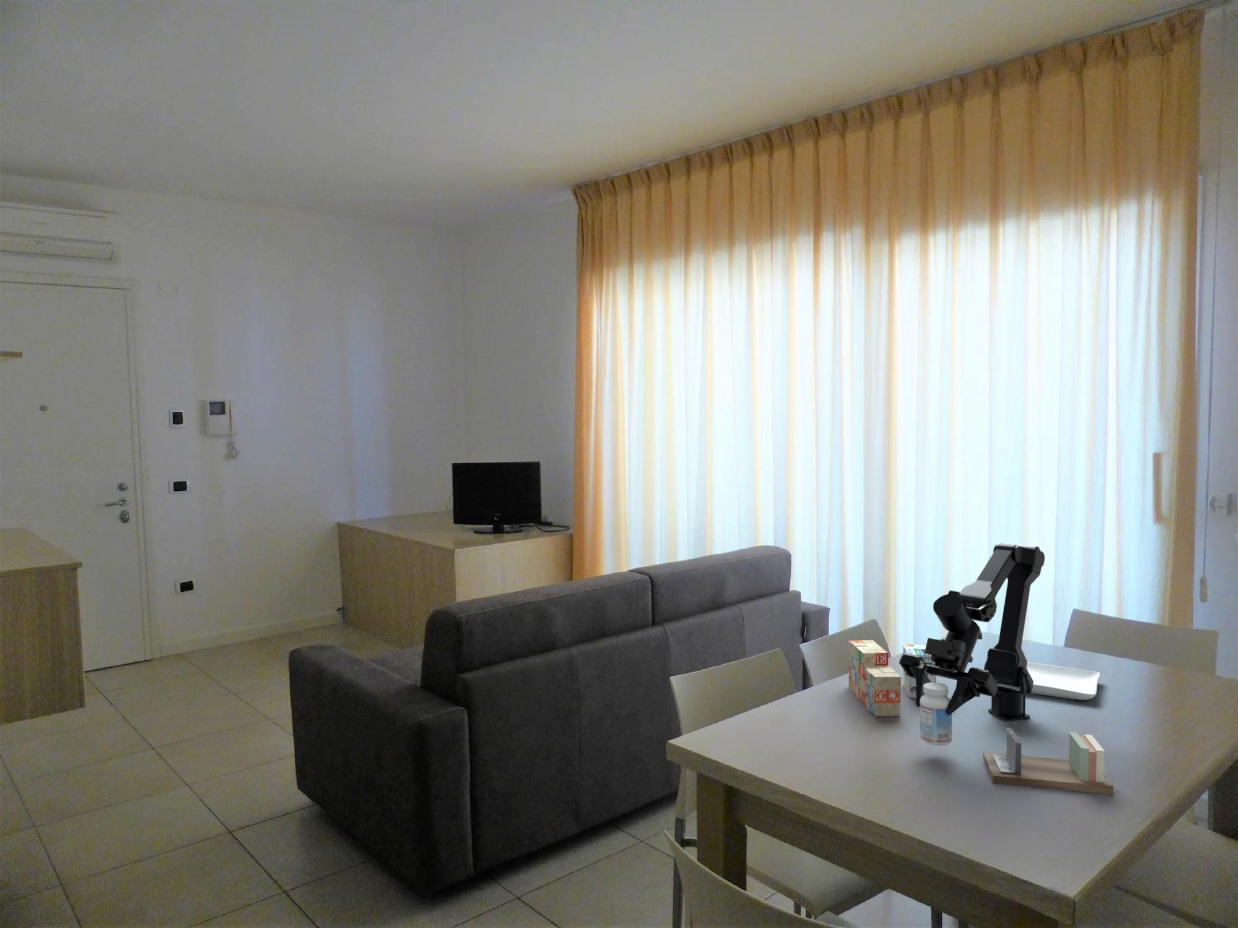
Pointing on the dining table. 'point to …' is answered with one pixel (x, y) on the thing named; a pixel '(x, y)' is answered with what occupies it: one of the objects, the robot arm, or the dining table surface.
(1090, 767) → the row of books
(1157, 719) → the dining table surface
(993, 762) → the shelf board
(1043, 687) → the salad plate
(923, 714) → the pill bottle
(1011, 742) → the bookend
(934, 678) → the light bulb box
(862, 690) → the stack of blocks
